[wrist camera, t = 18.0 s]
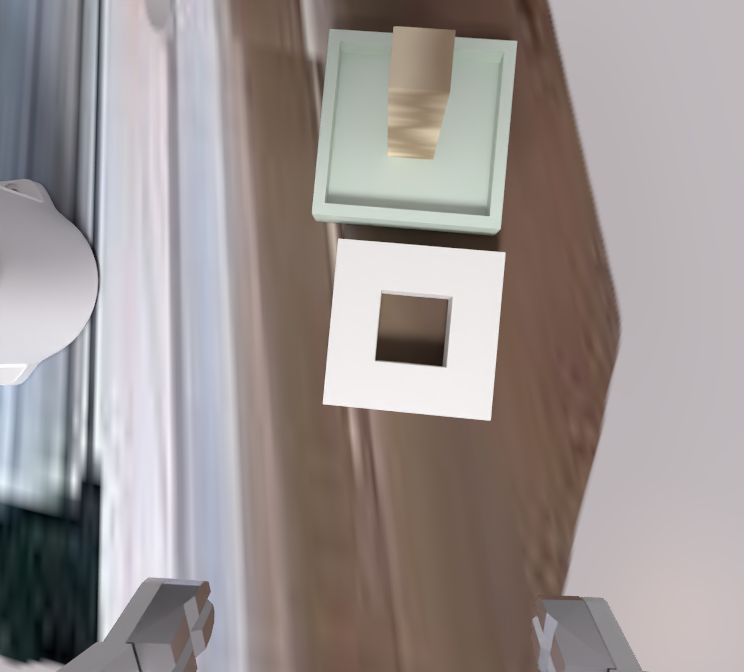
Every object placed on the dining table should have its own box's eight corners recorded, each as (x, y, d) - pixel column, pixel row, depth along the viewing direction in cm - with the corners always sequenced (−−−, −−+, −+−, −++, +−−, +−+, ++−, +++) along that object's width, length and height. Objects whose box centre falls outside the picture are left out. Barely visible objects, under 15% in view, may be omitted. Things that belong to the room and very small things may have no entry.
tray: (316, 221, 38) (311, 213, 36) (332, 47, 38) (329, 28, 36) (493, 235, 37) (500, 229, 35) (509, 58, 37) (517, 41, 35)
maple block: (387, 156, 37) (387, 87, 27) (391, 111, 37) (393, 26, 27) (432, 159, 37) (450, 91, 27) (437, 114, 37) (455, 30, 27)
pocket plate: (327, 400, 38) (322, 404, 35) (341, 245, 38) (338, 238, 35) (483, 415, 37) (490, 420, 35) (497, 258, 37) (505, 252, 35)
